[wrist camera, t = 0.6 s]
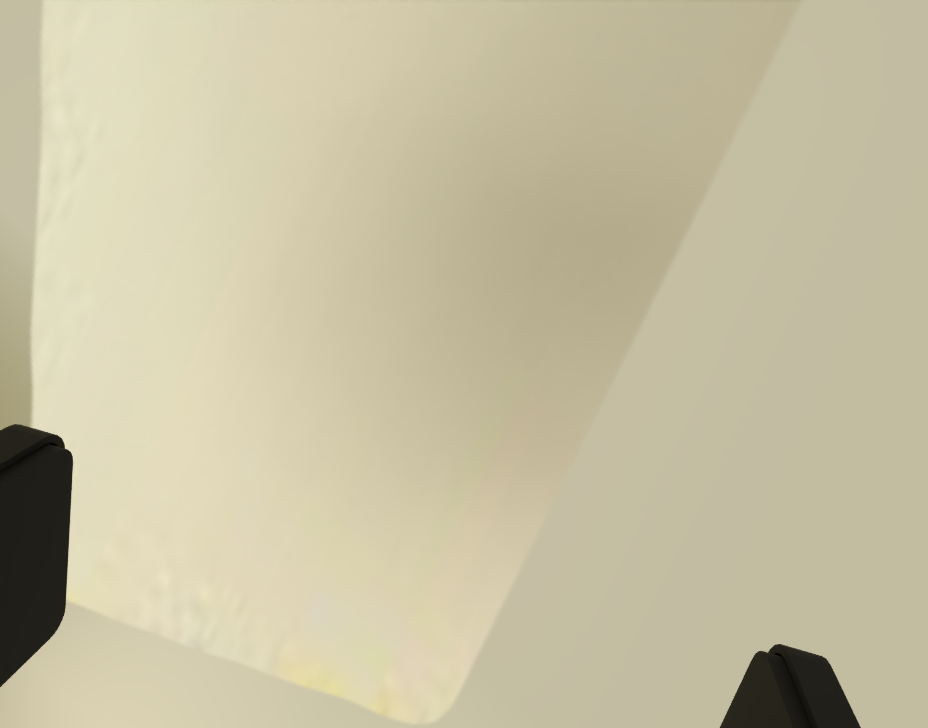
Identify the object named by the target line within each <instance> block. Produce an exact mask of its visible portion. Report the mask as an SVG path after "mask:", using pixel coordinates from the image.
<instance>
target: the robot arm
mask: <svg viewBox="0 0 928 728" xmlns="http://www.w3.org/2000/svg"><path fill="white" fill-rule="evenodd" d="M72 470H73V456H72V454H71V452H70V451H69V450H67V449H65V445H64V442H63V440H62V438H60V437H59V436H58V435H54V434H51V433H48V432H44V431H41V430H37V429H34V428H30V427H27V426H23V425H17V424H15V425H11V426H8V427H6V428H4V429H2V430H0V687H1V686H2V685H3V684H4V683H5V682H6V681H7V680H8V679H9V678H10V677H11V676H12V675H13V674H14V673H15V672H16V671H17V670H18V669H19V668H20V667H21V666H22V665H23V664H24V663H25V662H26V661H27V660H28V659H30V658H31V657H32V656H33V655H34V654H35V653H36V652H37V651H38V650H39V649H40V648H41V647H42V646H43V645H44V644H45V643H46V642H47V641H48V640H49V639H50V638H51V637H52V636H53V634H54V633H55V632H56V630H57V629H58V627H59V625H60V623H61V621H62V619H63V616H64V612H65V606H66V586H67V567H68V548H69V528H70V509H71V490H72ZM720 728H861V727H860V725H859V723H858V721H857V719H856V717H855V715H854V713H853V711H852V709H851V707H850V704H849V702H848V700H847V698H846V696H845V694H844V692H843V690H842V688H841V686H840V684H839V682H838V680H837V677H836V675H835V673H834V671H833V669H832V667H831V665H830V664H829V662H828V661H827V659H825V658H824V657H822V656H819V655H816V654H812V653H809V652H805V651H802V650H799V649H795V648H791V647H788V646H785V645H781V644H778V645H774V646H773V647H772V648H771V649H770V651H769V652H768V653H766V652H763V651H759V652H757V653H756V654H755V655H754V657H753V659H752V661H751V663H750V665H749V667H748V669H747V671H746V673H745V675H744V678H743V680H742V682H741V684H740V686H739V688H738V690H737V693H736V694H735V697H734V699H733V701H732V703H731V705H730V707H729V709H728V711H727V714H726V716H725V718H724V720H723V722H722V724H721V726H720Z"/></svg>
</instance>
